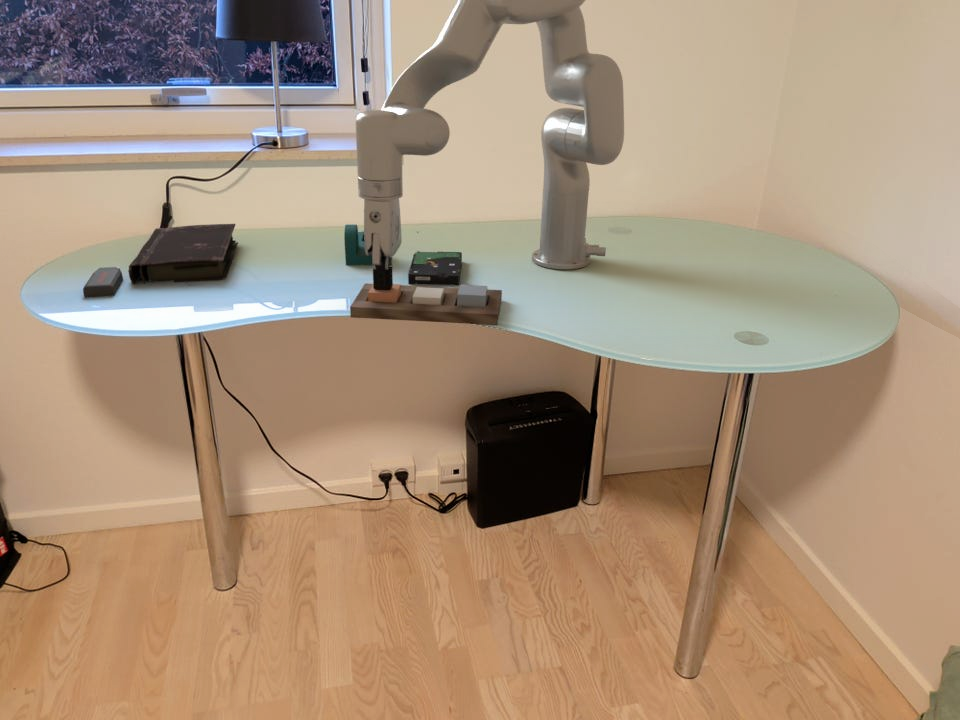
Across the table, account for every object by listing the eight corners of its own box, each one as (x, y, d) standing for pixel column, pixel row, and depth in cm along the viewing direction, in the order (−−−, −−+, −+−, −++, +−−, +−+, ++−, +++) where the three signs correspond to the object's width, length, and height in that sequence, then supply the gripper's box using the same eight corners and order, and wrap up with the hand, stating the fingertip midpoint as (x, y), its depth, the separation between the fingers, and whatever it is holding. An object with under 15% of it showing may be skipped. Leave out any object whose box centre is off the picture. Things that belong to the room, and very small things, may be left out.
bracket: (378, 266, 158) (376, 229, 155) (345, 266, 158) (343, 229, 154) (382, 240, 174) (381, 207, 171) (353, 240, 174) (351, 207, 170)
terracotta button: (401, 299, 139) (400, 284, 138) (396, 309, 135) (395, 293, 133) (374, 298, 139) (373, 282, 138) (368, 308, 135) (368, 292, 134)
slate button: (487, 301, 138) (487, 285, 137) (484, 311, 133) (485, 295, 132) (460, 299, 138) (460, 284, 137) (457, 310, 134) (457, 294, 132)
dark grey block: (84, 299, 138) (81, 285, 137) (98, 277, 149) (95, 264, 148) (115, 298, 139) (112, 284, 138) (126, 276, 150) (124, 263, 149)
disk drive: (460, 288, 148) (461, 263, 162) (460, 275, 147) (462, 250, 160) (408, 287, 148) (413, 262, 161) (407, 274, 147) (413, 249, 160)
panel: (501, 300, 141) (501, 290, 140) (497, 325, 131) (497, 314, 130) (365, 293, 143) (365, 283, 142) (350, 317, 132) (350, 306, 131)
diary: (130, 288, 145) (125, 263, 143) (155, 249, 167) (151, 227, 165) (230, 282, 148) (226, 257, 146) (242, 244, 170) (239, 223, 168)
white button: (443, 303, 139) (443, 288, 138) (440, 313, 134) (440, 298, 133) (417, 302, 139) (416, 287, 138) (412, 312, 135) (412, 296, 133)
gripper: (394, 198, 121) (396, 304, 129) (409, 178, 134) (410, 276, 142) (348, 196, 121) (353, 302, 129) (368, 176, 135) (371, 274, 143)
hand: (383, 288), depth 136 cm, fingers closed
